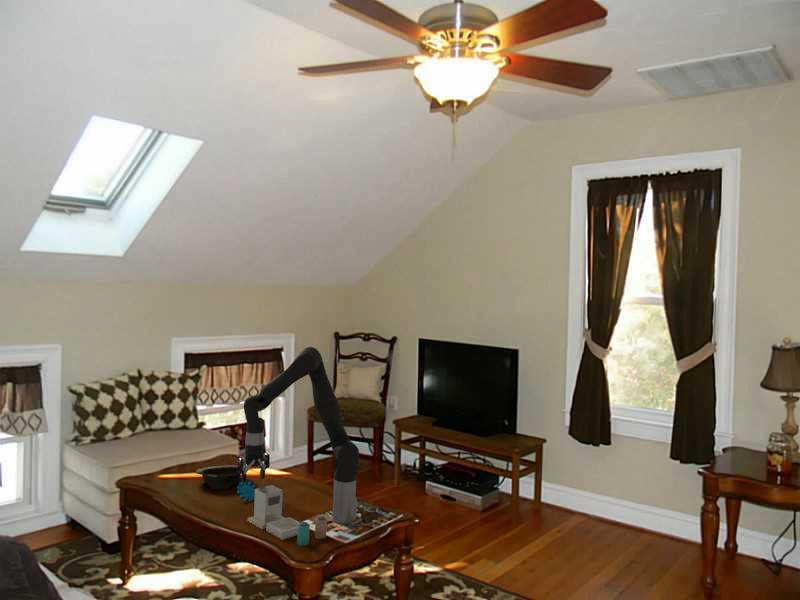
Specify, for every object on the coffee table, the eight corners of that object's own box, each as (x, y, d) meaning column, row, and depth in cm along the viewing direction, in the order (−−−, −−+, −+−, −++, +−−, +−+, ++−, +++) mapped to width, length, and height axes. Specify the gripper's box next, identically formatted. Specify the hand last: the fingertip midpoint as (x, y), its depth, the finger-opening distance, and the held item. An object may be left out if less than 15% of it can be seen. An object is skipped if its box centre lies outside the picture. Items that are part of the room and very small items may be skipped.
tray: (289, 524, 267) (289, 517, 267) (305, 532, 259) (305, 525, 259) (266, 530, 260) (266, 523, 260) (281, 539, 252) (282, 532, 252)
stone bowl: (221, 496, 297) (220, 475, 297) (184, 488, 310) (183, 469, 310) (260, 481, 318) (259, 462, 318) (223, 475, 331) (222, 457, 331)
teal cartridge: (304, 540, 253) (305, 520, 252) (311, 543, 250) (311, 523, 249) (294, 542, 250) (295, 522, 249) (301, 546, 246) (302, 526, 246)
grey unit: (272, 514, 277) (273, 483, 277) (287, 522, 269) (288, 490, 269) (247, 521, 269) (248, 488, 268) (262, 529, 261) (263, 496, 260)
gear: (241, 500, 288) (236, 480, 293) (235, 507, 291) (230, 487, 296) (263, 499, 295) (257, 479, 301) (257, 505, 298) (251, 486, 304)
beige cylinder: (321, 533, 260) (322, 514, 259) (328, 537, 257) (329, 517, 256) (312, 536, 257) (313, 516, 256) (319, 539, 253) (320, 519, 253)
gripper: (264, 438, 284) (262, 475, 285) (234, 442, 274) (233, 481, 275) (273, 441, 279) (272, 479, 279) (244, 446, 269) (242, 486, 269)
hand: (253, 480), depth 277 cm, fingers open, 8 cm apart
